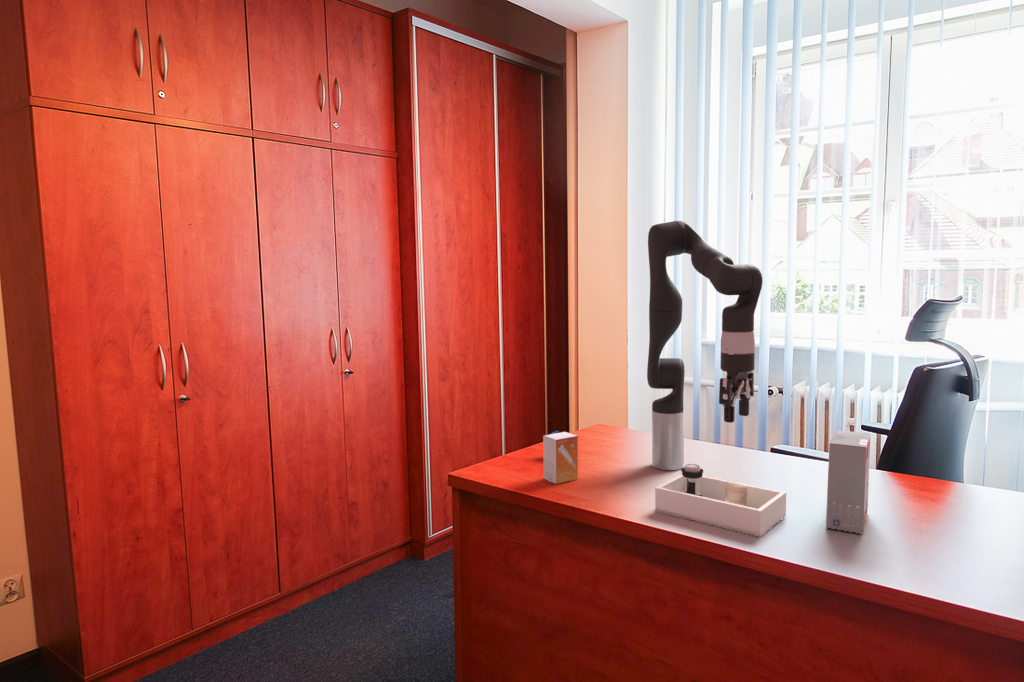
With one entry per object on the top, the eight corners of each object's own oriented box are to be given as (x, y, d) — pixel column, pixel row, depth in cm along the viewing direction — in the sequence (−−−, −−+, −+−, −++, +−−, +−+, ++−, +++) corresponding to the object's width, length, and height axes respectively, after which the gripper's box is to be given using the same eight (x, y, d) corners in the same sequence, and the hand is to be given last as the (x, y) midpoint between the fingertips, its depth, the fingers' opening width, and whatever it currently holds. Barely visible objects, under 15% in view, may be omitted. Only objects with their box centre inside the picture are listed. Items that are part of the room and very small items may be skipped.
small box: (556, 484, 182) (555, 439, 181) (543, 479, 188) (542, 435, 187) (578, 479, 187) (578, 435, 186) (565, 474, 192) (564, 431, 191)
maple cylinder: (730, 508, 158) (731, 480, 158) (750, 513, 155) (751, 485, 154) (721, 514, 155) (722, 485, 154) (741, 519, 151) (742, 490, 151)
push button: (712, 506, 161) (712, 466, 160) (700, 511, 157) (700, 471, 156) (688, 499, 166) (688, 461, 165) (676, 505, 162) (676, 466, 161)
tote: (685, 494, 172) (685, 472, 172) (785, 516, 155) (786, 492, 154) (655, 511, 160) (655, 487, 160) (760, 537, 143) (760, 511, 142)
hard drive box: (863, 535, 143) (866, 447, 141) (825, 529, 147) (827, 443, 145) (868, 513, 156) (870, 432, 154) (833, 508, 160) (835, 428, 158)
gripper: (734, 346, 159) (733, 411, 160) (708, 352, 148) (708, 422, 150) (765, 348, 154) (764, 415, 155) (740, 354, 143) (740, 426, 145)
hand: (736, 418), depth 153 cm, fingers open, 8 cm apart
